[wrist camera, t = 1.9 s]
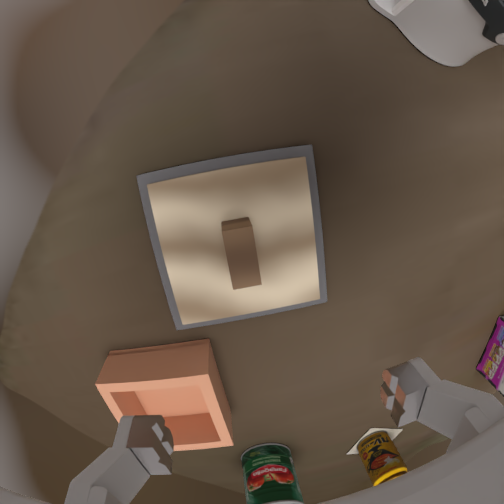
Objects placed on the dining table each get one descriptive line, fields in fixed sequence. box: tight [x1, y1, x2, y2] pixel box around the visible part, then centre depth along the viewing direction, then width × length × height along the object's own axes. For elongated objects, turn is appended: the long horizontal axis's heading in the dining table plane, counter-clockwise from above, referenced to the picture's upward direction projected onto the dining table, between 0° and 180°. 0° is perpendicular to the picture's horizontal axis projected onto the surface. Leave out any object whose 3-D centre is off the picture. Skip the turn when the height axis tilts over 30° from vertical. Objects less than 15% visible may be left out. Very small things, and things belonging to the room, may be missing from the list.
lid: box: [147, 157, 320, 325], centre depth 26 cm, size 14×14×4 cm
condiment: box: [347, 428, 407, 486], centre depth 37 cm, size 7×8×12 cm
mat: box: [137, 145, 327, 330], centre depth 29 cm, size 16×16×1 cm
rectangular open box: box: [95, 338, 233, 451], centre depth 31 cm, size 12×12×6 cm
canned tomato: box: [241, 443, 304, 504], centre depth 35 cm, size 8×8×11 cm
